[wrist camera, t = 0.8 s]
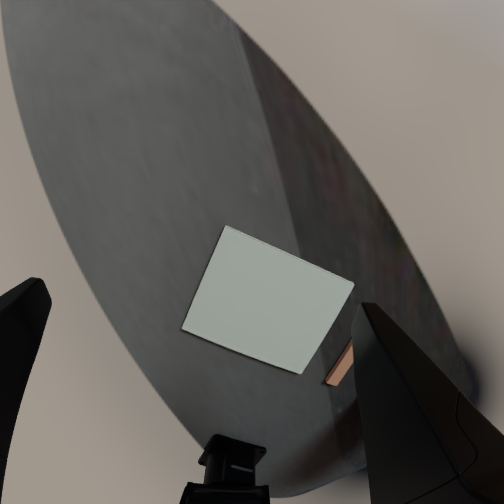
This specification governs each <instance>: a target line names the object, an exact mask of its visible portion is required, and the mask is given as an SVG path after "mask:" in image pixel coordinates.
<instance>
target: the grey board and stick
mask: <svg viewBox="0 0 504 504" xmlns="http://www.w3.org/2000/svg"><path fill="white" fill-rule="evenodd" d="M353 287H354V283H353V282H351V281H348V280H346V279H344V278H342V277H340V276H337V275H335V274H333V273H331V272H329V271H327V270H324V269H322V268H320V267H318V266H316V265H313V264H311V263H309V262H307V261H305V260H302V259H300V258H298V257H296V256H294V255H291V254H289V253H287V252H285V251H282V250H280V249H278V248H276V247H274V246H271V245H269V244H267V243H265V242H262V241H260V240H258V239H256V238H253V237H251V236H249V235H247V234H244V233H242V232H240V231H238V230H235V229H233V228H231V227H229V226H225V228H224V230H223V232H222V235H221V237H220V239H219V241H218V244H217V246H216V248H215V251H214V253H213V255H212V258H211V260H210V262H209V264H208V267H207V269H206V271H205V274H204V276H203V279H202V281H201V283H200V286H199V288H198V290H197V293H196V295H195V297H194V300H193V302H192V305H191V307H190V309H189V312H188V314H187V317H186V319H185V322H184V324H183V326H182V329H183V330H186V331H188V332H190V333H193V334H195V335H197V336H200V337H202V338H205V339H207V340H209V341H212V342H214V343H217V344H219V345H222V346H224V347H227V348H229V349H232V350H234V351H237V352H240V353H242V354H245V355H248V356H250V357H253V358H256V359H258V360H261V361H264V362H267V363H269V364H272V365H275V366H278V367H281V368H284V369H286V370H289V371H292V372H295V373H298V374H302V372H303V371H304V369H305V367H306V366H307V364H308V363H309V361H310V360H311V358H312V357H313V355H314V353H315V352H316V350H317V349H318V347H319V345H320V344H321V342H322V340H323V339H324V337H325V335H326V334H327V332H328V330H329V329H330V327H331V325H332V324H333V322H334V320H335V319H336V317H337V315H338V313H339V312H340V310H341V308H342V307H343V305H344V303H345V301H346V299H347V298H348V296H349V294H350V292H351V290H352V289H353ZM352 363H353V348H352V339H351V341H350V342H349V344H348V345H347V347H346V348H345V350H344V352H343V353H342V355H341V356H340V358H339V359H338V361H337V362H336V364H335V365H334V367H333V368H332V370H331V371H330V373H329V374H328V376H327V377H326V379H325V380H326V383H328V384H331V385H335V386H337V385H338V383H339V382H340V380H341V379H342V378H343V376H344V375H345V373H346V372H347V370H348V369H349V367H350V366H351V365H352Z"/></svg>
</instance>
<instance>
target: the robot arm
mask: <svg viewBox="0 0 504 504" xmlns="http://www.w3.org/2000/svg"><path fill="white" fill-rule="evenodd" d="M51 306H52V300H51V297H50V295H49V292H48V290H47V288H46V285H45V283H44V281H43V280H42V279H40V278H34V277H31V278H29V279H27V280H25V281H24V282H22V283H21V284H19V285H17V286H16V287H14V288H13V289H11V290H9V291H8V292H6V293H5V294H3V295H2V296H0V504H1V497H2V490H3V482H4V476H5V470H6V465H7V458H8V453H9V448H10V444H11V439H12V435H13V431H14V426H15V423H16V419H17V415H18V412H19V408H20V404H21V401H22V398H23V394H24V391H25V387H26V384H27V381H28V378H29V375H30V372H31V369H32V366H33V363H34V361H35V358H36V355H37V352H38V349H39V346H40V343H41V339H42V336H43V332H44V329H45V325H46V322H47V319H48V315H49V312H50V309H51ZM351 335H352V348H353V362H354V377H355V386H356V393H357V399H358V405H359V411H360V418H361V424H362V431H363V438H364V445H365V453H366V461H367V469H368V478H369V487H370V498H371V504H504V435H503V434H502V433H501V432H500V431H499V430H498V429H497V428H496V427H495V426H493V425H492V423H491V422H489V421H488V420H487V419H486V418H485V417H484V416H483V415H482V414H481V413H480V412H479V410H477V408H476V407H475V406H474V405H473V404H472V403H471V402H470V401H469V400H468V399H467V398H466V396H465V395H464V394H463V393H462V392H461V391H459V389H458V388H457V387H456V386H455V384H454V383H453V382H452V381H451V380H450V379H449V378H448V377H447V376H446V375H445V374H444V373H443V371H442V370H441V369H440V368H439V367H438V366H437V365H436V364H435V363H434V362H433V361H432V360H431V359H430V358H429V357H428V356H427V354H426V353H425V352H424V351H423V350H422V349H421V348H420V347H419V346H418V345H417V344H416V343H415V342H414V341H413V340H412V339H411V338H410V337H409V336H408V335H407V334H406V333H405V332H404V331H403V330H402V329H401V328H400V327H399V326H398V325H397V324H396V323H395V322H394V321H393V320H392V319H391V318H390V317H389V316H388V315H387V314H386V313H385V312H384V311H383V310H382V309H381V308H380V307H379V306H378V305H377V304H376V303H373V302H362V303H360V305H359V306H358V309H357V312H356V315H355V317H354V320H353V323H352V328H351ZM218 438H219V439H218ZM266 452H267V451H266V448H264V447H261V446H257V445H253V444H249V443H246V442H242V441H239V440H235V439H232V438H229V437H226V436H222V435H219V434H216V435H214V437H213V438H212V440H211V441H210V443H209V444H208V446H207V448H206V449H205V451H204V452H203V454H202V455H201V457H200V458H199V460H198V463H199V464H200V465H203V466H206V470H205V476H204V483H203V484H198V483H193V482H188V483H187V486H186V487H185V489H184V492H183V494H182V497H181V500H180V503H179V504H270V497H269V485H263V486H255V466H256V464H257V463H258V462H259V461H260V460H261V459H262V457H263V456H264V455H265V454H266Z"/></svg>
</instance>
